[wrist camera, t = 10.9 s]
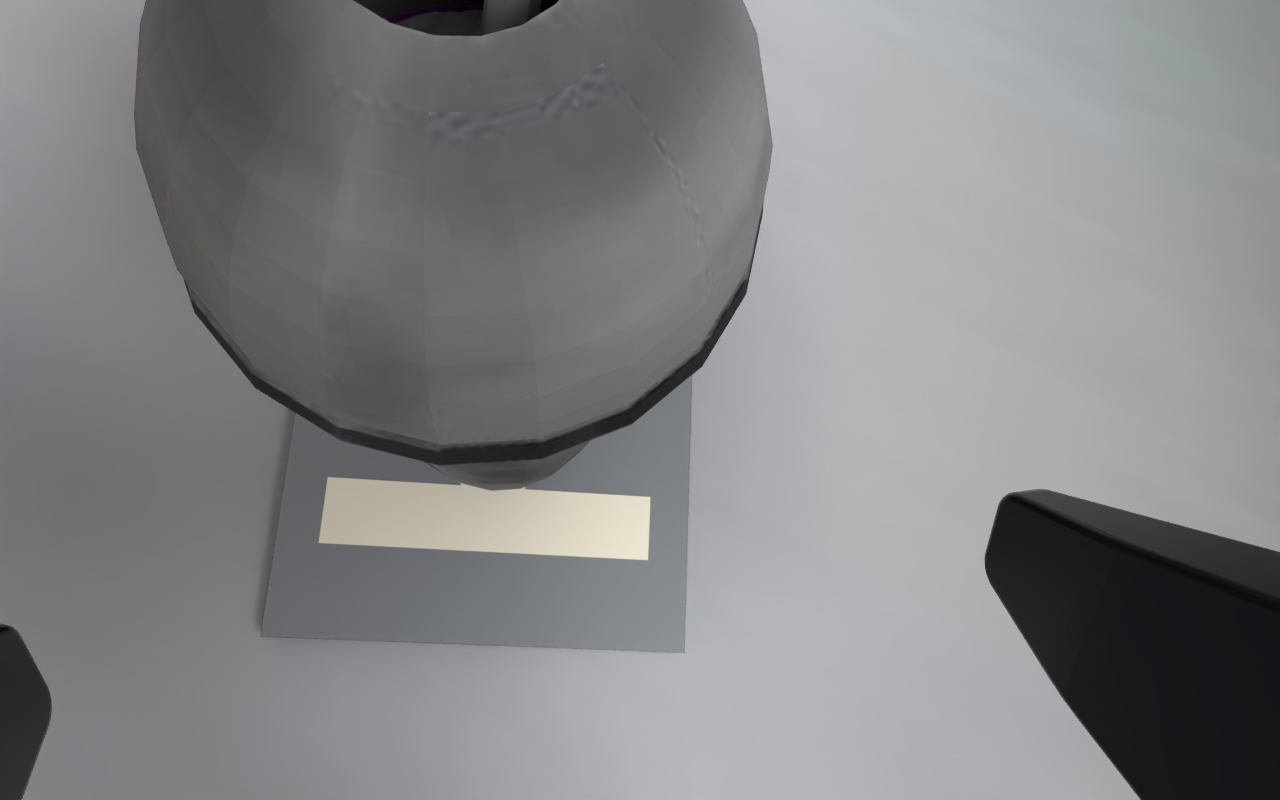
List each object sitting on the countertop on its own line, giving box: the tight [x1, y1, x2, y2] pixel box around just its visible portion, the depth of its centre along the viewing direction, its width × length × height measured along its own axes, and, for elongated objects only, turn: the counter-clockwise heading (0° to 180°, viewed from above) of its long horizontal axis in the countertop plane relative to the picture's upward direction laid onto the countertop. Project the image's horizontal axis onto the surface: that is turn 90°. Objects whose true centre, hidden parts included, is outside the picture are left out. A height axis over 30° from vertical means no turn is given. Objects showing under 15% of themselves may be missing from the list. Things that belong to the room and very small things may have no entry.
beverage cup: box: [134, 0, 773, 491], centre depth 12 cm, size 7×7×20 cm
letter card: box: [260, 375, 692, 653], centre depth 21 cm, size 12×10×1 cm
